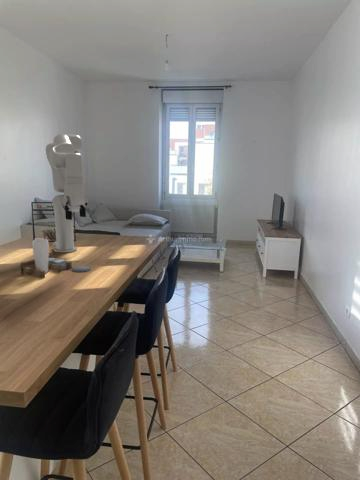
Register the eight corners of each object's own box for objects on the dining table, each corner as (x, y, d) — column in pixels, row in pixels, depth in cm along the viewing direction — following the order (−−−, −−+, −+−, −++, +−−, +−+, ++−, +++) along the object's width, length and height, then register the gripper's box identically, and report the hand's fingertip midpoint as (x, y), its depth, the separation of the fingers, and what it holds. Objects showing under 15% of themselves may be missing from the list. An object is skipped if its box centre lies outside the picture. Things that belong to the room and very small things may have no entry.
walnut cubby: (21, 273, 160) (20, 262, 159) (51, 263, 176) (51, 254, 175) (42, 278, 154) (41, 267, 153) (71, 267, 170) (71, 257, 169)
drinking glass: (53, 271, 164) (51, 239, 161) (43, 275, 158) (41, 242, 155) (41, 269, 166) (39, 238, 163) (31, 273, 160) (28, 241, 157)
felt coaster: (67, 270, 166) (67, 269, 166) (80, 265, 174) (80, 264, 174) (82, 273, 162) (82, 272, 162) (94, 268, 170) (94, 267, 170)
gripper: (80, 180, 170) (81, 215, 174) (54, 181, 155) (56, 219, 158) (93, 180, 167) (94, 216, 171) (68, 181, 152) (69, 221, 155)
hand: (76, 218), depth 165 cm, fingers open, 9 cm apart
